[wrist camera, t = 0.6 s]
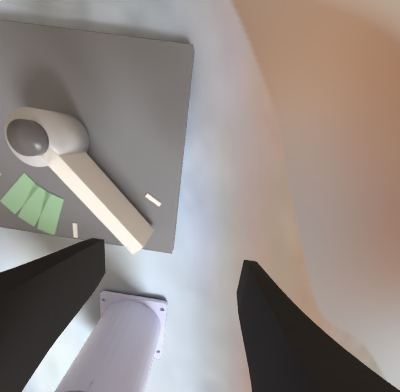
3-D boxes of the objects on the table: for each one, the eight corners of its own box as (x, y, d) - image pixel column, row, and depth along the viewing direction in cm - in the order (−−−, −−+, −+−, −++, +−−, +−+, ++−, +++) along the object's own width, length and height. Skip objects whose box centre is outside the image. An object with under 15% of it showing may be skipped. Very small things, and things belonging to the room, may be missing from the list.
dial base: (173, 248, 20) (171, 254, 19) (-24, 217, 21) (-37, 221, 20) (194, 50, 15) (192, 44, 14) (-73, 16, 15) (-94, 7, 14)
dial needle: (34, 133, 16) (-17, 132, 13) (63, 102, 15) (17, 90, 12) (135, 242, 19) (117, 267, 15) (165, 221, 18) (153, 242, 14)
